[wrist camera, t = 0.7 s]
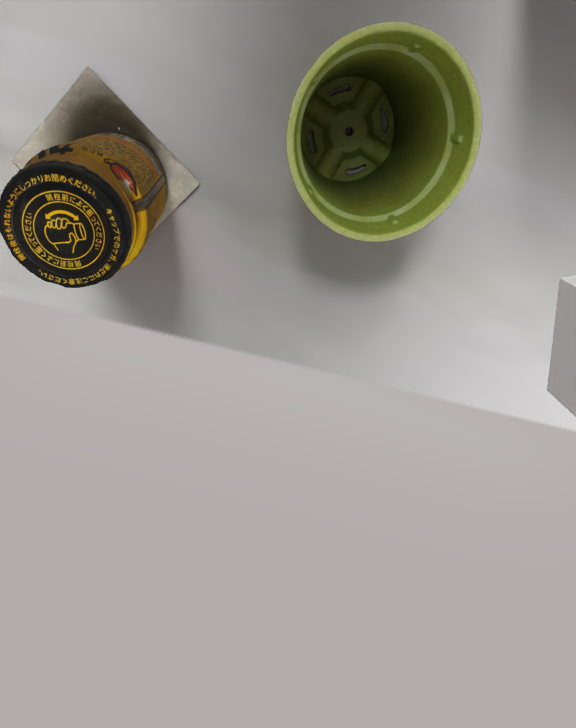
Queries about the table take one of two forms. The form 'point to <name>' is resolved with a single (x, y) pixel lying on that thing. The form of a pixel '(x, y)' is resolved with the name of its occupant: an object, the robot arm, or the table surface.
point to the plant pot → (384, 149)
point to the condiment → (89, 189)
